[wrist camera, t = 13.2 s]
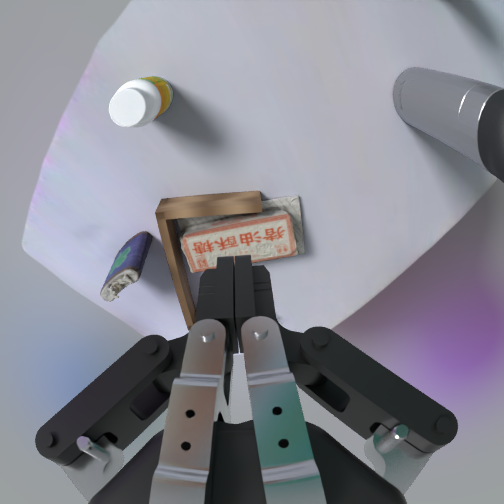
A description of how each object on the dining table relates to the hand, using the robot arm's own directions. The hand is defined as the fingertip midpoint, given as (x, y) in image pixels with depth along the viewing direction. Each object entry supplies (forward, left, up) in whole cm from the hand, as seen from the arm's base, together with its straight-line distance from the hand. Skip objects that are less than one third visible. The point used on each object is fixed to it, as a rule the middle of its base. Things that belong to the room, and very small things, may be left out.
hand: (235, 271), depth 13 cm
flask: (+18, +17, -27) cm, 37 cm away
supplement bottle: (+10, -6, -27) cm, 30 cm away
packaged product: (0, +16, -28) cm, 32 cm away
